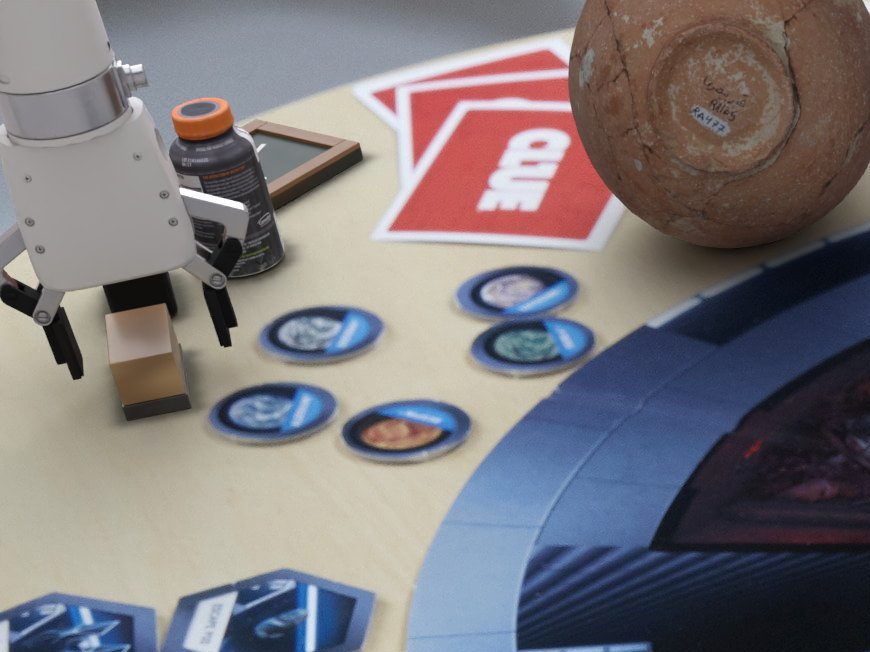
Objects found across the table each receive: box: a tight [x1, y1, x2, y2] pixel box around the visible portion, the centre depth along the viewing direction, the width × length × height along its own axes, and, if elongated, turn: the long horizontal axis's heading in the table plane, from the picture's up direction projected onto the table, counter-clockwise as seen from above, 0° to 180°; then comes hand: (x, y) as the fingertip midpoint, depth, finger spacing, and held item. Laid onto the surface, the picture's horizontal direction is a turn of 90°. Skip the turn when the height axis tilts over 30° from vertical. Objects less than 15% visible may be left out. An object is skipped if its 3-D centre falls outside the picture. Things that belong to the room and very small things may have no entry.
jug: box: [567, 0, 870, 249], centre depth 168 cm, size 22×22×30 cm
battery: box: [101, 271, 178, 317], centre depth 165 cm, size 4×7×10 cm, turn 20°
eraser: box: [104, 303, 192, 421], centre depth 158 cm, size 4×8×4 cm, turn 18°
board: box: [240, 118, 364, 211], centre depth 182 cm, size 16×11×1 cm
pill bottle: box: [168, 97, 286, 278], centre depth 169 cm, size 6×6×11 cm
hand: (152, 354), depth 158 cm, fingers open, 9 cm apart
